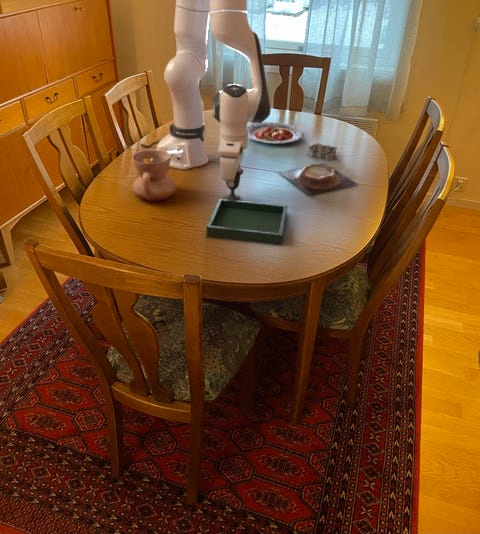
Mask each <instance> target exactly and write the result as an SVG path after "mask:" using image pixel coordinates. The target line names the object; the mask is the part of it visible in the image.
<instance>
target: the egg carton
mask: <svg viewBox="0 0 480 534" xmlns="http://www.w3.org/2000/svg"><path fill="white" fill-rule="evenodd" d="M337 149H338V146H331V145H329V144H328V145H326V144H321V143H320V142H316V143H313V144H312V145H309V146H308V156H310V157H311V158H313V157H317V158H318V159H325V160H326V161H330V160H333V159H334V157H336V156H337V155H336V154H337Z"/></svg>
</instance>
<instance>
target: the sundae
mask: <svg viewBox="0 0 480 534" xmlns="http://www.w3.org/2000/svg"><path fill="white" fill-rule="evenodd" d="M243 174H244V169H243V168H242V167H241V165H240V166H239V168H238V171H237V173H236V176H235V178H234V180H235V182H234V186H233V187H229V186H228V181H225V184H226V187H227V188H228V189H229V190H230V194H227V195H226V196H225V197H224V199H229V200H238V201H240V199H241V197H240V196H239V195H237V194H235V190H236V189H238V188H239V186H240V181H241V176H242V175H243Z"/></svg>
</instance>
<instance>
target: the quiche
mask: <svg viewBox="0 0 480 534" xmlns="http://www.w3.org/2000/svg"><path fill="white" fill-rule="evenodd" d="M280 175H281V176H283V177H284V178H287V179H288V180H289V181H291V182H292V183H293V184H294V185H296V186H297V187H299V189H301V190H302V191H303V192H304V193H306V194H307V195H310V196H312V195H313V196H314V195H319V194H324V193H328V192H332V191H335V190H336V191H337V190H339V189H344V188H347V187H352V186H355V185H357V183H356V182H355V181H354V180H352V179H350V178H348V177H347V176H344V175H343V174H341V173H340V172H338V171H337V170H335V169H334V168H333V167H331V166H330V165H328V164H327V163H325V162H324V163H318V164H317V163H316V164H315V163H311V164H309V165H306V166H304V167H303V166H302V167H300V168H296V169H293V170H288V171H284V172H280Z"/></svg>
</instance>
